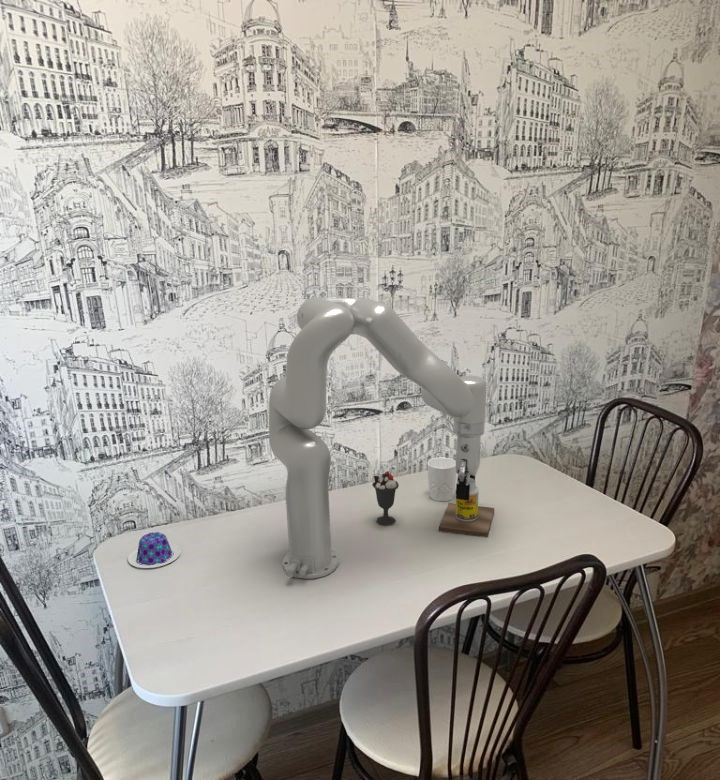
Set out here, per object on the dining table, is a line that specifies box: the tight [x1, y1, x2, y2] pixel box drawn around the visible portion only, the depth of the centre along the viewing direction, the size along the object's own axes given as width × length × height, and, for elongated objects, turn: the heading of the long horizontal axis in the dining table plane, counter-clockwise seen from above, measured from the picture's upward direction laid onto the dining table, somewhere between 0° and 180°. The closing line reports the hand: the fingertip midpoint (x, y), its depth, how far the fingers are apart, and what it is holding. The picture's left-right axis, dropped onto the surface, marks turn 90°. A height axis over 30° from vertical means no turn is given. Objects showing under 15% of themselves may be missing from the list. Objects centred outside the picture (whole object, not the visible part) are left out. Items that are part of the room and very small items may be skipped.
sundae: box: [371, 466, 399, 526], centre depth 173 cm, size 7×7×15 cm
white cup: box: [427, 456, 457, 502], centre depth 187 cm, size 8×8×10 cm
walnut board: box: [438, 502, 495, 538], centre depth 173 cm, size 14×12×1 cm
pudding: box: [127, 531, 182, 569], centre depth 160 cm, size 12×12×5 cm
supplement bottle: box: [455, 478, 480, 522], centre depth 171 cm, size 6×6×10 cm
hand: (465, 491), depth 171 cm, fingers open, 9 cm apart
